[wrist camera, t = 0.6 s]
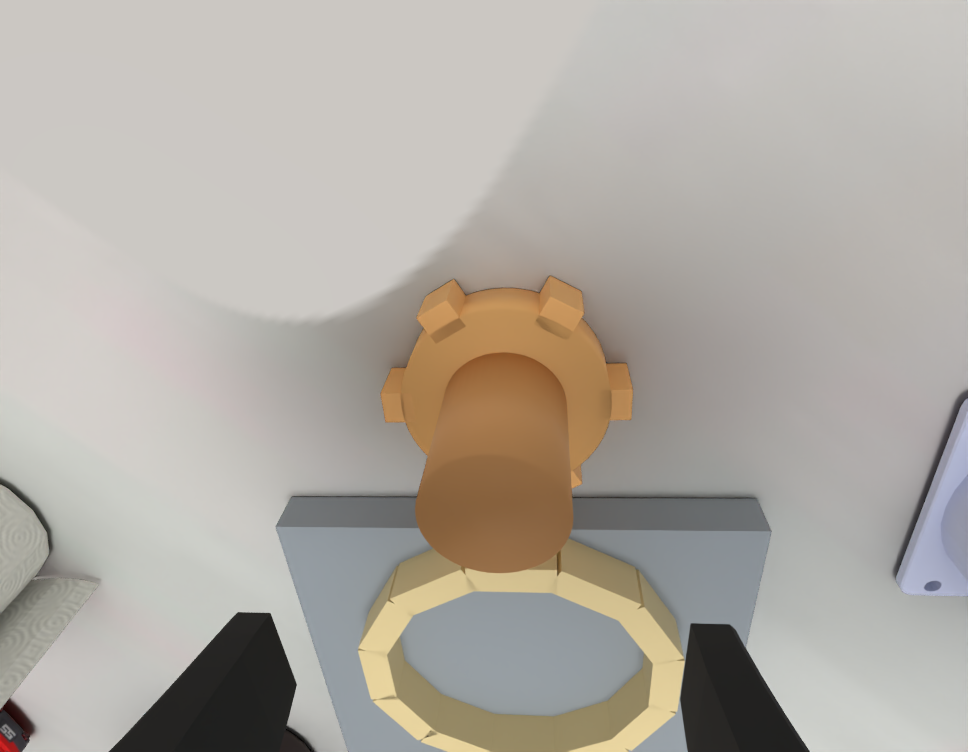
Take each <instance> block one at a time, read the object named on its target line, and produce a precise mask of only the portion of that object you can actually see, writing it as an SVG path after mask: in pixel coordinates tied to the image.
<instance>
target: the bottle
mask: <svg viewBox="0 0 968 752" xmlns="http://www.w3.org/2000/svg"><path fill="white" fill-rule="evenodd" d="M279 752H310V750H309V749H308V747H307V746H306V745H305V743H304V742H303V741H301V740H300V739H299V738H298V737H296V736H295V735H294V734H292V733H291V732H290V731H287V730H285V732H284V736H283V739H282V743H281V746H280V749H279Z"/></svg>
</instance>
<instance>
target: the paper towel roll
mask: <svg viewBox="0 0 968 752" xmlns="http://www.w3.org/2000/svg"><path fill="white" fill-rule="evenodd" d="M48 555H49V546H48V538H47V532H46V531H45V529H44V527H43V526H42V524H41V523H40V521H39V519H38V518H37V516H36V515H35V513H34V512H33V510H32V509H31V508H30V507H28V506H27V505H26V504H25V503H24V502H23V501H22V500H20V499H19V498H18V497H17V496H16V495H15V494H14V493H13V492H11V491H10V490H9V489H8V488H6V487H4V486H2V485H0V709H1V708H2V707H3V706H4V704H5V703H6V702H7V700H8V699H9V698H10V697H11V695H12V694H13V693H14V692H15V690H16V689H17V688H18V687H19V685H20V684H21V683H22V682H23V680H24V679H25V678H26V676H27V675H28V674H29V673H30V671H31V670H32V669H33V668H34V666H35V665H36V664H37V663H38V661H39V660H40V659H41V658H42V656H43V655H44V654H45V652H46V651H47V650H48V649H49V647H50V646H51V645H52V644H53V642H54V641H55V640H56V639H57V637H58V636H59V635H60V633H61V632H62V631H63V630H64V628H65V627H66V626H67V625H68V623H69V622H70V621H71V620H72V618H73V617H74V616H75V615H76V613H77V612H78V611H79V609H80V608H81V607H82V606H83V604H84V603H85V602H86V601H87V599H88V598H89V597H90V596H91V594H92V593H93V592H94V591H95V589H96V588H97V587H98V585H99V584H97V583H93V582H89V581H86V580H81V579H69V578H49V579H38V580H32V579H33V578H34V577H35V576H36V575H37V574H38V572H39V571H40V569H41V567H42V566H43V564H44V562H45V560H46V559H47V557H48Z"/></svg>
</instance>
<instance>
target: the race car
mask: <svg viewBox="0 0 968 752" xmlns="http://www.w3.org/2000/svg"><path fill="white" fill-rule="evenodd" d="M2 709H3V707H2V708H1V709H0V752H22V751H23V750H24V748H25V747H26V745H27V744H28V743H29V741H30V740H29V737H30V735H27V732H23V730H22V728H21V727H20V726H19V725H18V724H17V723H16V722H15V721H14V720H13V718H12V717H11V716H10V715H9V714H8V713H6V712H5V711H4V710H2Z"/></svg>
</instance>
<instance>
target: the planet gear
mask: <svg viewBox="0 0 968 752" xmlns="http://www.w3.org/2000/svg"><path fill="white" fill-rule="evenodd" d="M583 315H584V306H583V299H582V292H581V291H580V290H578V289H576V288H574V287H572V286H570V285H568V284H566V283H564V282H562V281H560V280H558V279H556V278H554V277H552V276H549V278H548V279H547V281H546V283H545V285H544V286H543V288H542V290H541V291H540V293H537V292H533V291H530V290H523V289H517V288H497V289H488V290H483V291H479V292H475V293H472V294H469V295H465V294H464V292H463V291H462V289H461V288H460V287H459V285H458V284H457V282H456V281H455V280H454V279H453V280H451V281H450V282H448V283H446V284H445V285H443V286H441V287H440V288H438V289H437V290H435V291H433V292H432V293H430V294H429V295H427V296H426V297H425V299H424V301H423V304H422V306H421V308H420V311H419V313H418V315H417V317H416V319H417V320H418V321H419V323H420V324H421V325H422V326H423V328H424V329H423V330H422V332H421V334H420V336H419V337H418V339H417V342H416V344H415V347H414V349H413V352H412V354H411V357H410V359H409V362H408V364H407V367H406V368H391V371H390V373H389V375H388V377H387V380H386V382H385V384H384V387H383V389H382V391H381V393H380V394H381V400H382V405H383V411H384V416H385V422H406V425H407V427H408V430H409V432H410V433H411V435H412V437H413V439H414V440H415V442H416V443H417V444H418V446H419V447H420V448H421V450H422V451H423V452H424V453H425V454H426V455H427V456H428V458H427V461H426V465H425V469H424V472H423V476H422V480H421V484H420V487H419V491H418V495H417V499H416V504H415V515H416V520H417V524H418V527H419V529H420V531H421V533H422V535H423V536H424V538H425V540H426V541H427V542H428V543H429V544H430V546H431V547H432V548H434V549H435V550H436V551H437V552H438V553H439V554H441V555H442V556H443V557H445V558H446V559H448V560H450V561H452V562H454V563H456V564H458V565H460V566H463V567H466V568H468V569H472V570H476V571H480V572H487V573H512V572H519V571H523V570H527V569H530V568H533V567H536V566H538V565H540V564H542V563H544V562H546V561H547V560H549V559H551V558H552V557H553V556H554V555H556V554H557V553H558V552H559V551H560V550H561V549H562V547H563V546H564V545H565V543H566V542H567V540H568V538H569V536H570V534H571V530H572V527H573V502H572V488H574V487H576V486H579V485H581V484H582V474H581V464H582V463H583V462H584V461H585V460H586V459H588V458H589V457H590V455H591V454H592V453H593V452H594V451H595V450H596V448H597V447H598V445H599V444H600V442H601V441H602V439H603V437H604V435H605V432H606V430H607V428H608V424H609V421H610V420H631V415H632V398H633V387H632V383H631V379H630V375H629V371H628V367H627V363H615V364H606V361H605V356H604V353H603V350H602V347H601V344H600V343H599V341H598V339H597V337H596V335H595V333H594V332H593V331H592V329H591V328H590V327H589V325H588V324H587V323H586V322H585V321H584V320H583V319H582V317H583Z"/></svg>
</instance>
